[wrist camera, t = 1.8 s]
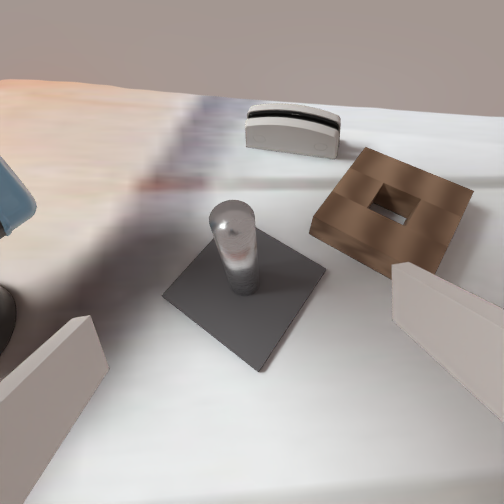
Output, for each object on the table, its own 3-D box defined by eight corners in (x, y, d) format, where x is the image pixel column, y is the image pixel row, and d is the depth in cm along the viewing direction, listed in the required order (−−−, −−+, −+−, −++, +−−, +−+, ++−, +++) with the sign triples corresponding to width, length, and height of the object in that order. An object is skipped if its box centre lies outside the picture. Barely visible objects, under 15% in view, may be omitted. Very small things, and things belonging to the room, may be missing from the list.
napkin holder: (339, 140, 50) (351, 102, 40) (334, 163, 50) (346, 132, 40) (251, 128, 53) (243, 91, 43) (246, 151, 52) (236, 118, 43)
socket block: (308, 233, 41) (313, 216, 37) (357, 168, 47) (365, 146, 43) (414, 292, 36) (432, 279, 32) (454, 210, 42) (473, 191, 38)
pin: (224, 285, 37) (199, 223, 24) (241, 263, 38) (228, 193, 25) (247, 301, 36) (235, 245, 23) (265, 278, 37) (263, 213, 24)
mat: (163, 297, 38) (161, 295, 37) (235, 218, 43) (234, 215, 42) (258, 372, 32) (258, 371, 32) (325, 271, 38) (326, 268, 37)
